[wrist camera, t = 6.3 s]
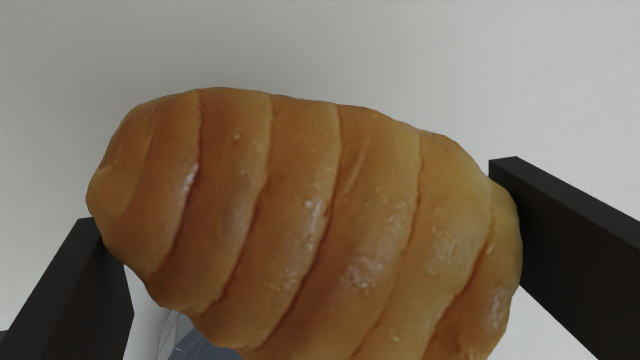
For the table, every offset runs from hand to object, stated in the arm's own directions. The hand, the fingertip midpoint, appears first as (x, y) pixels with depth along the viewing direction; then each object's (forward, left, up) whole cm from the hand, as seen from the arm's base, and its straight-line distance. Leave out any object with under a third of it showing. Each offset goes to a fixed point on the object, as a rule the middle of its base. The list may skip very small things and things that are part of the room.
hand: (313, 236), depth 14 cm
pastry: (0, 0, 0) cm, 0 cm away
